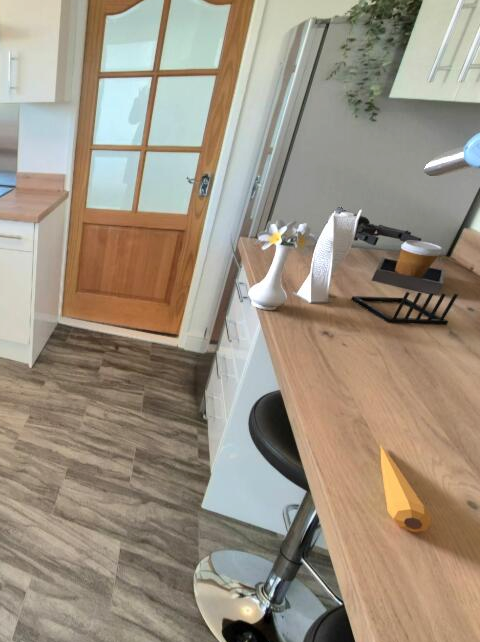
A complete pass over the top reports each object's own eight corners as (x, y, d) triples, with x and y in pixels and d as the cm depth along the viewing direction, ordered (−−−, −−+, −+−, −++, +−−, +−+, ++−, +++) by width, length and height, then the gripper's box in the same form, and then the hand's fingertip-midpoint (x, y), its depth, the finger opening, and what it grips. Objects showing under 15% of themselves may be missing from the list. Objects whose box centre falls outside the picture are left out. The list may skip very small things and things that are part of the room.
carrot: (415, 542, 61) (445, 527, 59) (382, 519, 62) (410, 504, 60) (382, 460, 77) (405, 446, 75) (356, 443, 78) (378, 429, 76)
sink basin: (377, 268, 151) (382, 257, 149) (438, 281, 141) (444, 270, 139) (371, 280, 141) (376, 269, 140) (435, 295, 132) (442, 283, 130)
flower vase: (294, 301, 128) (327, 219, 116) (282, 323, 116) (317, 234, 104) (245, 288, 135) (271, 210, 124) (229, 308, 123) (256, 224, 112)
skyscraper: (336, 305, 126) (378, 211, 113) (310, 305, 125) (349, 211, 112) (313, 292, 133) (351, 203, 120) (289, 293, 132) (323, 203, 120)
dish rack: (403, 301, 128) (418, 273, 124) (446, 324, 115) (464, 295, 111) (350, 299, 129) (363, 272, 125) (388, 322, 116) (403, 293, 112)
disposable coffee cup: (379, 275, 144) (395, 241, 138) (398, 272, 146) (415, 238, 141) (413, 287, 136) (432, 251, 130) (432, 283, 138) (451, 248, 133)
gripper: (381, 234, 164) (430, 253, 145) (313, 232, 166) (353, 251, 147) (390, 214, 161) (442, 232, 142) (321, 213, 162) (363, 230, 143)
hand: (397, 242), depth 144 cm, fingers open, 13 cm apart
